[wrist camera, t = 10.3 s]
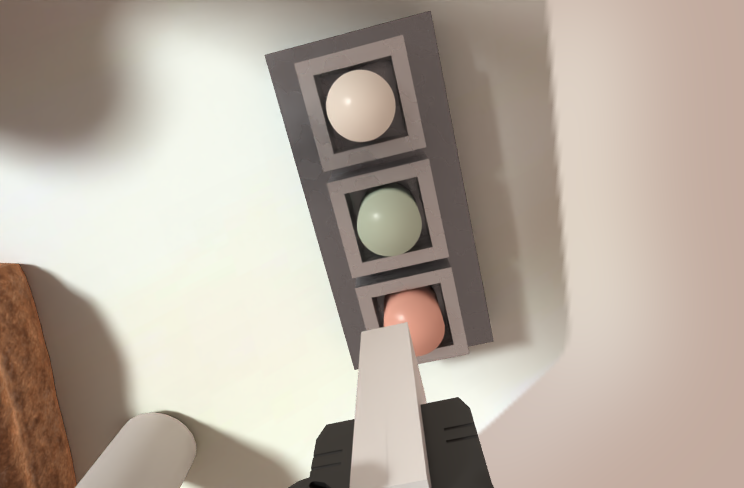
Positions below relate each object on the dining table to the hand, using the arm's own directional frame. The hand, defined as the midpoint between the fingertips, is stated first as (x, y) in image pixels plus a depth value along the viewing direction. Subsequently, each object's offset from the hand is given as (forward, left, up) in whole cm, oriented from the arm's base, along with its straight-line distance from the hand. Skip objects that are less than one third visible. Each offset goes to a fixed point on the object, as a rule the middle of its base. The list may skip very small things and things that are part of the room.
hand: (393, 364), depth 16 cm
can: (+18, -27, -26) cm, 42 cm away
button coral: (+8, 0, -23) cm, 24 cm away
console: (0, 0, -26) cm, 26 cm away
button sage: (0, 0, -23) cm, 23 cm away
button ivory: (-8, 0, -23) cm, 24 cm away
